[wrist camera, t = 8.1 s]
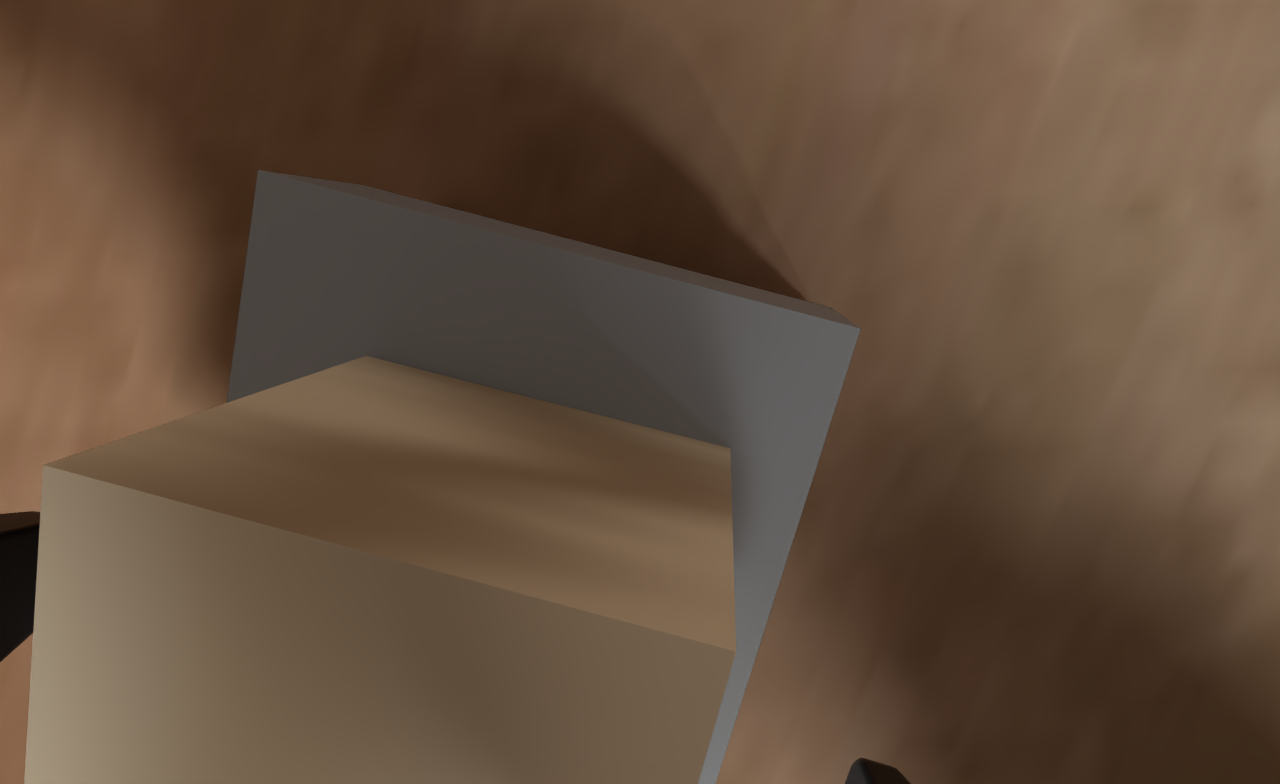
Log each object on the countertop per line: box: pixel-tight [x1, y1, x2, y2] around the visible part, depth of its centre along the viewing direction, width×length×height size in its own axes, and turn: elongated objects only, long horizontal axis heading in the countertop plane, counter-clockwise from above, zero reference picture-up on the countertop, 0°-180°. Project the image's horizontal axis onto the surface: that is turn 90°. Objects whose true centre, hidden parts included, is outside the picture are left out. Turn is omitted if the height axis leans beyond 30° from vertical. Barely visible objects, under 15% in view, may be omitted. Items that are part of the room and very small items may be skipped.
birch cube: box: [24, 356, 736, 784], centre depth 8 cm, size 5×5×5 cm
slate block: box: [227, 170, 861, 784], centre depth 12 cm, size 8×8×3 cm
